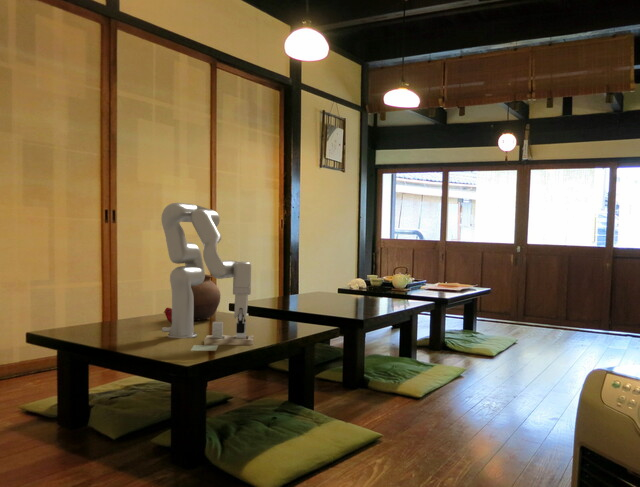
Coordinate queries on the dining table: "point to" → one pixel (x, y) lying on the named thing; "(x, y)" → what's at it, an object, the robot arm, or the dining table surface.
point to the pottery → (205, 299)
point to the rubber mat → (204, 348)
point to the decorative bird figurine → (168, 314)
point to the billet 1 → (217, 330)
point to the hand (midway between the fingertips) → (241, 330)
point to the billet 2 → (241, 335)
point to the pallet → (228, 340)
